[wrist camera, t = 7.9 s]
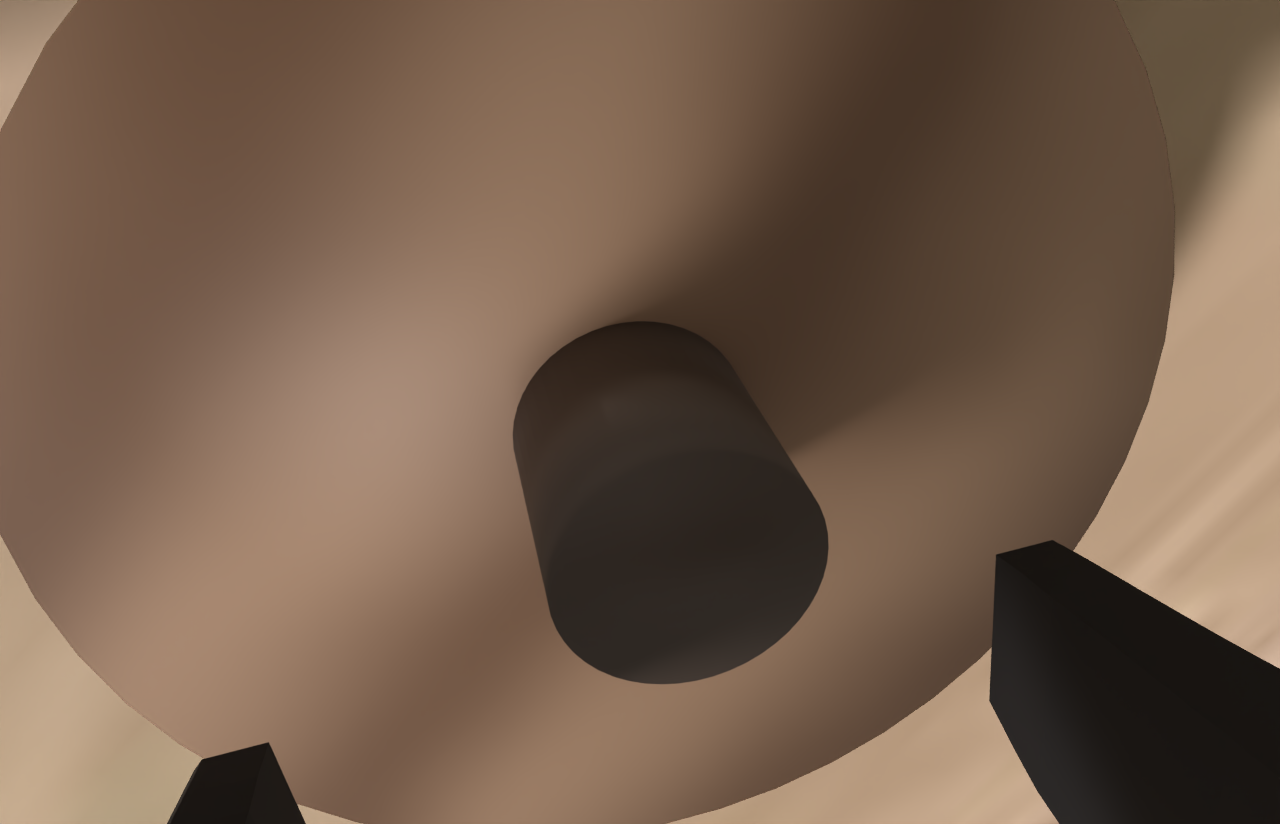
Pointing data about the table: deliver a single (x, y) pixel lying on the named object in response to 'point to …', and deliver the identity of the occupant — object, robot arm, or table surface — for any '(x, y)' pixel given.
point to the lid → (564, 373)
